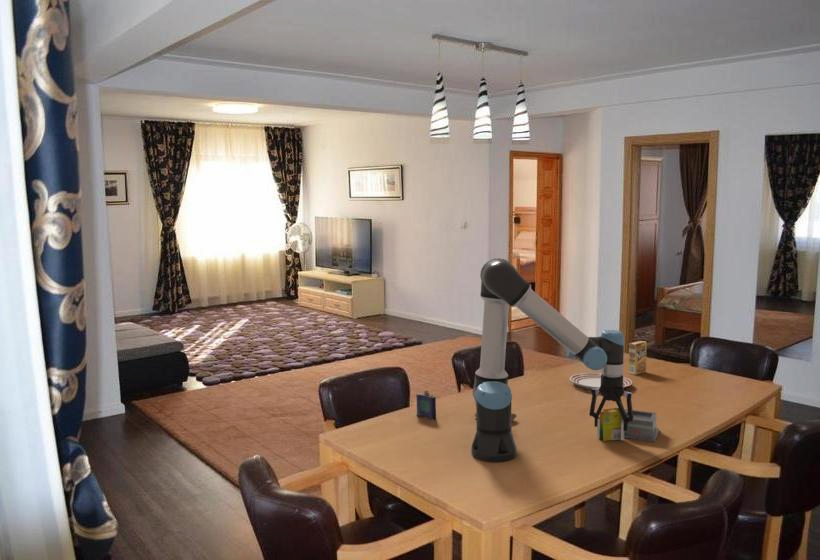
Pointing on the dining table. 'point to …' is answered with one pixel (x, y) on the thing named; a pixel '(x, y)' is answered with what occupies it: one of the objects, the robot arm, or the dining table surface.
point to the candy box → (637, 357)
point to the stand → (642, 426)
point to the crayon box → (610, 424)
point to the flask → (426, 405)
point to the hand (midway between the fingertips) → (610, 437)
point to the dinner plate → (593, 380)
